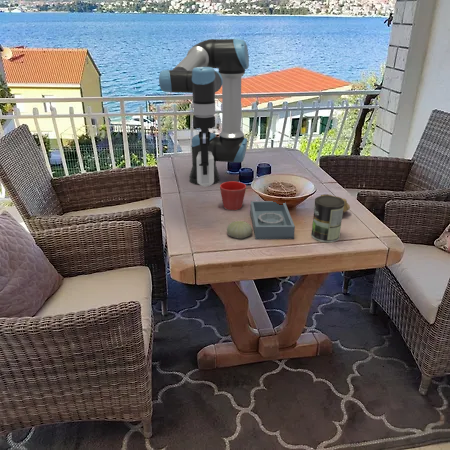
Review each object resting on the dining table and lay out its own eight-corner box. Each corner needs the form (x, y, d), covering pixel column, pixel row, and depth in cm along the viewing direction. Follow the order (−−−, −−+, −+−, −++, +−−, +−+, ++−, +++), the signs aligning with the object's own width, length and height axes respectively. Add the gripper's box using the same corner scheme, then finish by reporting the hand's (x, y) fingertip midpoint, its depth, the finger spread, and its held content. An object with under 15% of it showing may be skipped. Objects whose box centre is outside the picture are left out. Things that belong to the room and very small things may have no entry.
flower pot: (243, 212, 168) (244, 190, 164) (217, 210, 170) (217, 188, 166) (247, 203, 177) (247, 182, 173) (222, 201, 179) (222, 180, 175)
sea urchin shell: (226, 223, 155) (241, 210, 151) (241, 237, 156) (256, 225, 153) (222, 234, 147) (238, 221, 143) (237, 248, 148) (253, 236, 145)
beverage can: (195, 186, 148) (194, 154, 143) (199, 180, 153) (198, 149, 148) (212, 187, 147) (211, 155, 142) (215, 181, 152) (215, 150, 147)
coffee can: (312, 242, 145) (316, 205, 139) (310, 229, 154) (313, 194, 148) (341, 243, 144) (346, 207, 138) (337, 230, 153) (342, 196, 147)
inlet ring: (256, 217, 162) (256, 212, 161) (281, 217, 162) (281, 212, 161) (259, 227, 153) (259, 223, 152) (285, 227, 153) (285, 222, 152)
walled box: (250, 212, 168) (250, 201, 166) (283, 212, 169) (284, 201, 167) (255, 239, 147) (255, 226, 145) (293, 238, 147) (294, 226, 145)
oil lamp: (324, 203, 177) (326, 186, 174) (354, 214, 167) (357, 196, 164) (308, 209, 171) (310, 192, 168) (339, 221, 161) (341, 202, 157)
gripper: (194, 110, 148) (196, 171, 158) (191, 121, 130) (194, 188, 141) (215, 110, 148) (215, 171, 158) (215, 121, 131) (215, 188, 141)
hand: (205, 179), depth 149 cm, fingers closed on beverage can, 6 cm apart
